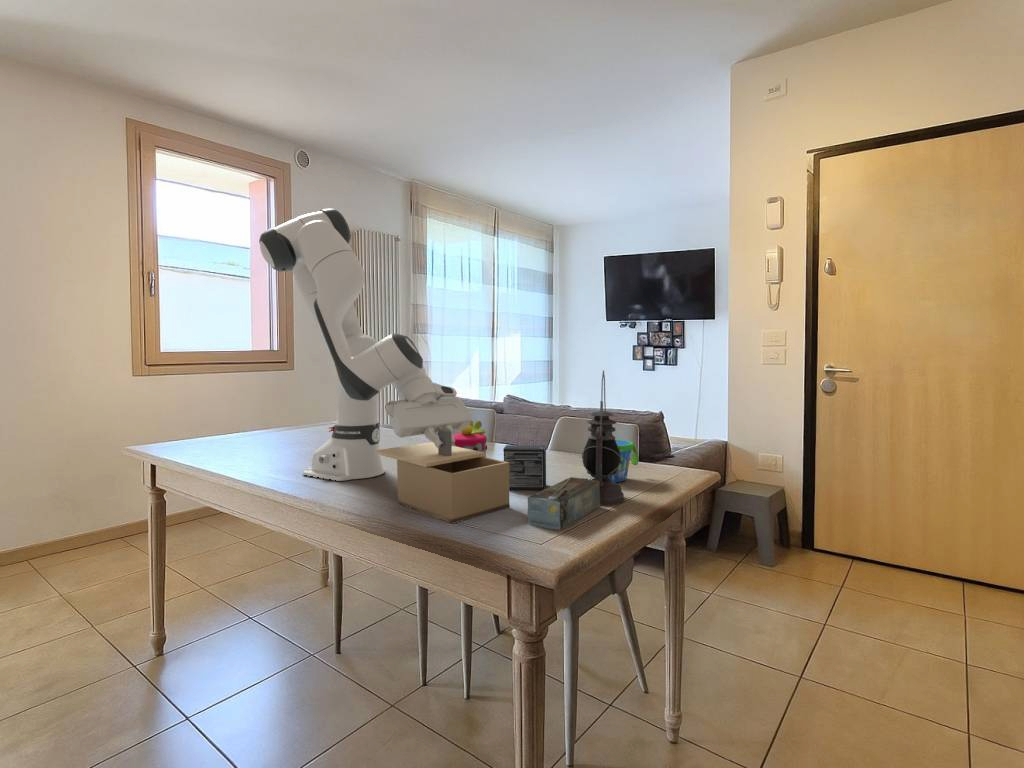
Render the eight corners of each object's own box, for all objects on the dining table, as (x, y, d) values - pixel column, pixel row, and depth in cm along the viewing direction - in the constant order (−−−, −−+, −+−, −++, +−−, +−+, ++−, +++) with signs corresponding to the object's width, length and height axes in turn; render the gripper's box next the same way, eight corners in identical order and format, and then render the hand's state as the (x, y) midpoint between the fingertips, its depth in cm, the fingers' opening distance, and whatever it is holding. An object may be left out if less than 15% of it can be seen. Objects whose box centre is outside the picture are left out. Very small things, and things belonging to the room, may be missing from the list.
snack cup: (627, 473, 151) (627, 437, 151) (648, 481, 141) (649, 443, 141) (577, 477, 146) (577, 440, 145) (595, 487, 136) (595, 447, 136)
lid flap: (375, 453, 128) (374, 427, 128) (432, 444, 140) (432, 420, 139) (425, 467, 114) (425, 437, 113) (485, 455, 125) (484, 429, 125)
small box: (546, 484, 139) (546, 444, 139) (545, 491, 133) (545, 449, 132) (506, 483, 140) (505, 443, 140) (503, 490, 134) (502, 448, 133)
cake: (485, 479, 145) (485, 424, 144) (446, 479, 145) (445, 424, 144) (488, 470, 155) (488, 418, 154) (452, 470, 156) (451, 418, 155)
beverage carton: (525, 525, 108) (525, 492, 108) (569, 502, 124) (569, 474, 124) (560, 532, 104) (560, 498, 103) (601, 508, 120) (602, 478, 119)
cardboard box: (397, 503, 123) (397, 459, 122) (453, 490, 134) (453, 450, 133) (452, 523, 108) (451, 474, 108) (509, 506, 120) (509, 462, 119)
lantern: (582, 490, 133) (582, 369, 131) (626, 493, 130) (627, 369, 128) (574, 504, 121) (575, 371, 119) (623, 508, 118) (624, 371, 116)
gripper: (387, 392, 119) (412, 441, 113) (459, 387, 133) (486, 431, 127) (377, 411, 123) (401, 459, 116) (449, 404, 137) (474, 447, 131)
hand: (446, 444), depth 122 cm, fingers closed on lid flap, 2 cm apart
